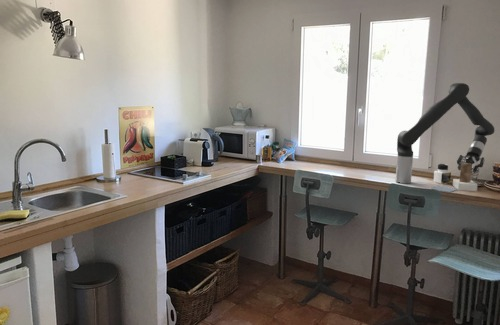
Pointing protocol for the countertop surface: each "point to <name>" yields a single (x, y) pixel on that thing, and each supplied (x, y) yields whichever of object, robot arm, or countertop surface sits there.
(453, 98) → the robot arm
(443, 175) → the medicine bottle
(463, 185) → the shelf riser
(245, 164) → the countertop surface
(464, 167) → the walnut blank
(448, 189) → the slate mat
